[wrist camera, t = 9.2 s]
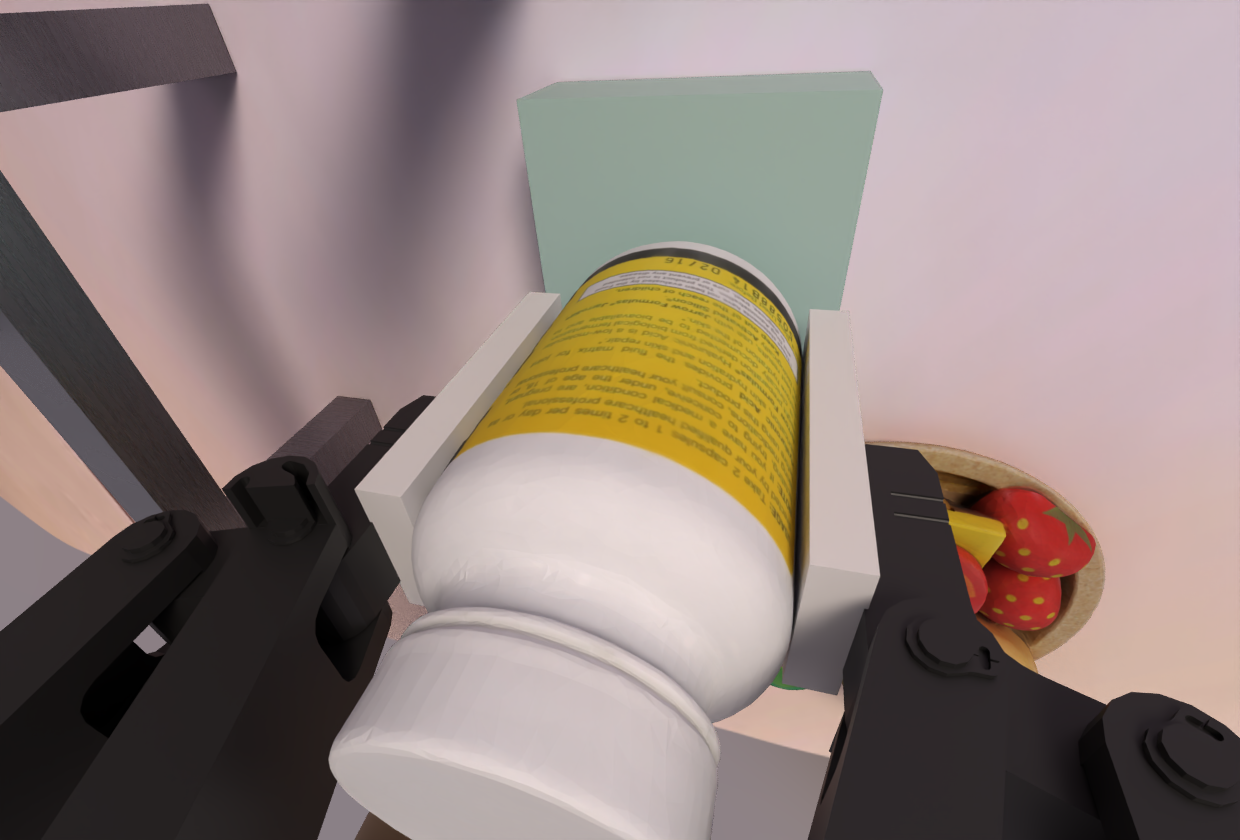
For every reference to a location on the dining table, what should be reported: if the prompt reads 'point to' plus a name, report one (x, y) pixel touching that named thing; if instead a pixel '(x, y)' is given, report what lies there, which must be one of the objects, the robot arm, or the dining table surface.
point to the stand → (703, 174)
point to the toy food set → (1015, 552)
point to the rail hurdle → (61, 311)
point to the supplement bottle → (598, 570)
